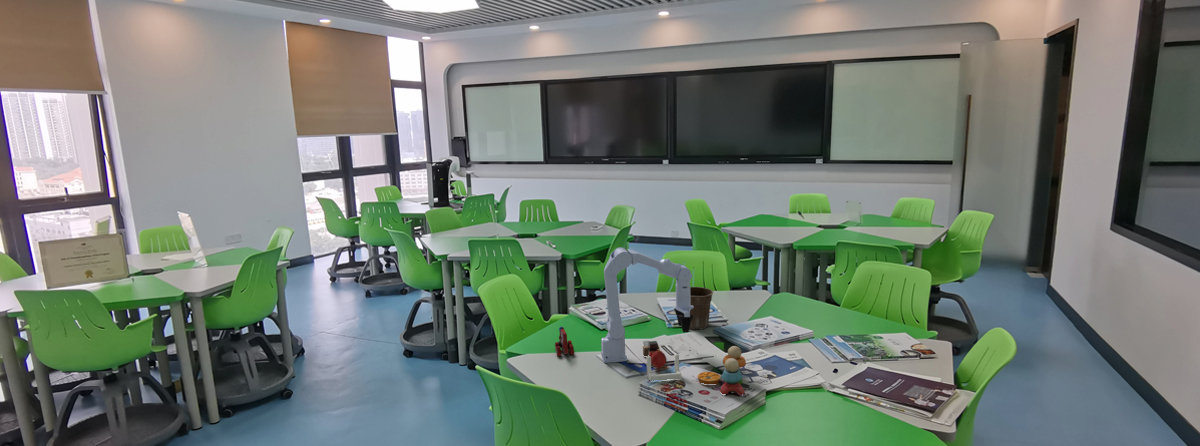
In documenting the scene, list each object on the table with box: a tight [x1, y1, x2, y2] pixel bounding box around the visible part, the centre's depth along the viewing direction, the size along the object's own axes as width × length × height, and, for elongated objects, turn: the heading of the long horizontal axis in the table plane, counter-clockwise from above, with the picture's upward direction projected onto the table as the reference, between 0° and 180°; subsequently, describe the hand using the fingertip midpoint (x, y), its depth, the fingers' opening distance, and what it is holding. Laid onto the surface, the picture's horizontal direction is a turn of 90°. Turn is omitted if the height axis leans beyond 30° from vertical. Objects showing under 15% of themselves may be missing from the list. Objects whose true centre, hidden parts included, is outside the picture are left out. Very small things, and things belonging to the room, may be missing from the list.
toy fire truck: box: [554, 326, 575, 357], centre depth 241 cm, size 7×12×10 cm, turn 11°
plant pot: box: [689, 286, 714, 330], centre depth 268 cm, size 16×16×16 cm
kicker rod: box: [642, 340, 663, 366], centre depth 235 cm, size 5×19×7 cm, turn 7°
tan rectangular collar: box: [642, 344, 660, 357], centre depth 235 cm, size 6×2×4 cm, turn 97°
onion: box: [651, 348, 668, 370], centre depth 221 cm, size 6×6×8 cm
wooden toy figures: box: [697, 345, 747, 396], centre depth 204 cm, size 18×17×12 cm
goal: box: [645, 353, 682, 382], centre depth 213 cm, size 12×5×8 cm, turn 97°
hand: (683, 328), depth 235 cm, fingers open, 7 cm apart
